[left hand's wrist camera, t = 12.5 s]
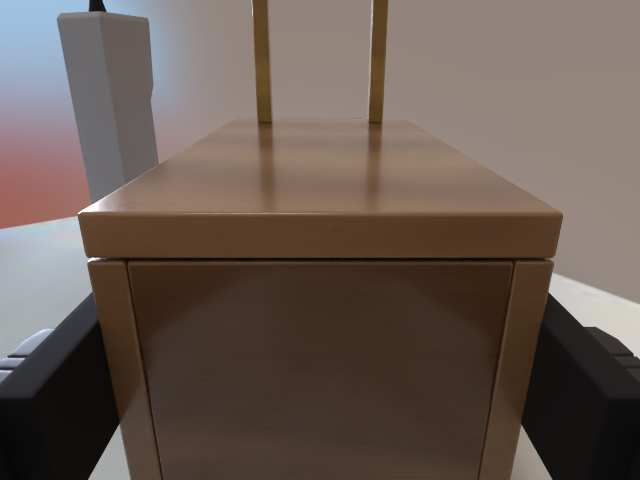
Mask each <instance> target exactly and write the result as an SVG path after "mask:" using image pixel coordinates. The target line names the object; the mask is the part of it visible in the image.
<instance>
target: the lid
mask: <svg viewBox="0 0 640 480" xmlns="http://www.w3.org/2000/svg"><path fill="white" fill-rule="evenodd" d="M252 12H253V34H254V55H255V75H256V96H257V118H236V119H234V120H232V121H231V122H229V123H227V124H226V125H224V126H223V127H221V128H219V129H217V130H216V131H214V132H212V133H211V134H209V135H207V136H206V137H204V138H203V139H201V140H199V141H198V142H196V143H194V144H192V145H191V146H189V147H188V148H186V149H184V150H183V151H181V152H179V153H178V154H176V155H174V156H173V157H171V158H169V159H168V160H166V161H164V162H163V163H161V164H159V165H158V166H156V167H154V168H153V169H151V170H149V171H148V172H146V173H144V174H143V175H141V176H139V177H138V178H136V179H134V180H133V181H131V182H129V183H128V184H126V185H124V186H123V187H121V188H119V189H118V190H116V191H114V192H113V193H111V194H109V195H108V196H106V197H104V198H103V199H101V200H99V201H98V202H96V203H94V204H93V205H91V206H89V207H88V208H86V209H84V210H83V211H81V212H79V214H78V219H79V224H80V229H81V234H82V239H83V244H84V249H85V254H86V256H87V257H88V258H553V257H554V256H555V253H556V248H557V244H558V239H559V234H560V229H561V224H562V219H563V214H562V213H561V212H560V211H558V210H556V209H555V208H553V207H551V206H550V205H548V204H546V203H545V202H543V201H541V200H540V199H538V198H536V197H535V196H533V195H531V194H530V193H528V192H526V191H525V190H523V189H521V188H520V187H518V186H516V185H515V184H513V183H511V182H510V181H508V180H506V179H505V178H503V177H501V176H500V175H498V174H496V173H495V172H493V171H491V170H489V169H488V168H486V167H485V166H483V165H481V164H479V163H478V162H476V161H474V160H473V159H471V158H469V157H468V156H466V155H464V154H463V153H461V152H459V151H458V150H456V149H454V148H453V147H451V146H449V145H448V144H446V143H444V142H443V141H441V140H439V139H438V138H436V137H434V136H433V135H431V134H429V133H428V132H426V131H424V130H423V129H421V128H419V127H418V126H416V125H414V124H413V123H411V122H409V121H408V120H406V119H404V118H383V98H384V78H385V57H386V36H387V16H388V0H372V3H371V30H370V58H369V85H368V113H367V118H273V110H272V83H271V55H270V27H269V0H252Z"/></svg>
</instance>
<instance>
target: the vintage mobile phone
mask: <svg viewBox="0 0 640 480" xmlns="http://www.w3.org/2000/svg"><path fill="white" fill-rule="evenodd" d="M89 1H90V2H89V12H77V13H61V14H60V15H59V16H58V18H57V23H58V28H59V33H60V39H61V44H62V49H63V54H64V60H65V65H66V70H67V76H68V81H69V86H70V92H71V97H72V102H73V108H74V113H75V118H76V123H77V128H78V134H79V139H80V144H81V150H82V155H83V160H84V166H85V171H86V176H87V182H88V187H89V192H90V198H91V203H92V205H93V204H94V203H96V202H98V201H99V200H101V199H103V198H104V197H106V196H108V195H109V194H111V193H113V192H114V191H116V190H118V189H119V188H121V187H123V186H124V185H126V184H128V183H129V182H131V181H133V180H134V179H136V178H138V177H139V176H141V175H143V174H144V173H146V172H148V171H149V170H151V169H153V168H154V167H156V166H158V165H159V162H158V154H157V147H156V139H155V131H154V123H153V116H152V108H151V95H152V89H153V75H152V61H151V46H150V31H149V21H148V18H144V17H136V16H130V15H123V14H115V13H108V12H106V9H105V7H104V4H103V1H102V0H89Z"/></svg>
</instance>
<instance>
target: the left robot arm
mask: <svg viewBox="0 0 640 480" xmlns="http://www.w3.org/2000/svg"><path fill="white" fill-rule="evenodd" d="M521 424H522V426H523V428H524V430H525V431H526V433H527V435H528V437H529V439H530V440H531V442H532V444H533V446H534V447H535V449H536V451H537V453H538V455H539V456H540V458H541V460H542V462H543V464H544V465H545V467H546V469H547V471H548V472H549V474H550V476H551V478H552V480H640V359H639V358H638V357H634V355H633V353H632V352H631V351H630V350H629V349H628V348H627V347H626V346H624V345H623V344H622V343H621V342H620V341H619V340H618V339H616V338H615V337H613V336H611V335H609V334H607V333H606V332H604V331H602V330H600V329H598V328H597V327H583V326H582V325H581V324H580V323H579V322H578V321H577V320H576V319H575V318H574V317H573V316H572V315H571V314H570V313H569V312H568V311H567V310H566V309H565V308H564V307H563V306H562V305H561V304H560V303H559V302H558V301H557V300H556V299H555V298H554V297H553V296H552V295H551V294H550V293H549V292H548V296H547V301H546V305H545V310H544V315H543V320H542V324H541V329H540V334H539V339H538V344H537V349H536V353H535V358H534V363H533V368H532V373H531V378H530V383H529V388H528V393H527V398H526V403H525V408H524V413H523V418H522V423H521ZM118 425H119V419H118V414H117V409H116V404H115V399H114V394H113V389H112V384H111V379H110V374H109V369H108V364H107V359H106V355H105V350H104V345H103V340H102V335H101V330H100V325H99V320H98V315H97V310H96V305H95V300H94V295H93V292H92V293H91V294H90V295H89V296H88V297H87V298H86V299H85V300H84V301H83V302H82V303H81V304H80V305H79V306H78V307H77V308H76V309H75V310H74V311H73V312H72V313H71V314H70V315H69V316H67V317H66V318H65V319H64V320H63V321H62V322H61V323H60V324H59V325H58V326H57V327H56V328H45V329H43V330H42V331H40V332H38V333H36V334H34V335H33V336H31V337H29V338H27V339H26V340H24V341H23V342H21V343H20V344H19V345H18V346H17V347H16V348H15V349H14V350H13V351H12V352H11V353H10V354H8V357H7V358H4V359H3V360H2V361H1V362H0V480H88V479H89V477H90V475H91V473H92V471H93V470H94V468H95V466H96V464H97V463H98V461H99V459H100V457H101V455H102V454H103V452H104V450H105V448H106V447H107V445H108V443H109V441H110V439H111V438H112V436H113V434H114V432H115V431H116V429H117V427H118Z"/></svg>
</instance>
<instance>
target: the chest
mask: <svg viewBox="0 0 640 480" xmlns="http://www.w3.org/2000/svg"><path fill="white" fill-rule="evenodd" d="M553 266H554V262H553V261H552V260H551V259H550V258H92V259H91V260H89V261H88V270H89V275H90V280H91V285H92V290H93V295H94V300H95V305H96V310H97V315H98V320H99V325H100V330H101V335H102V340H103V345H104V350H105V355H106V359H107V364H108V369H109V374H110V379H111V384H112V389H113V394H114V399H115V404H116V409H117V414H118V419H119V424H120V429H121V434H122V439H123V444H124V449H125V454H126V459H127V464H128V469H129V474H130V479H131V480H510V478H511V473H512V468H513V463H514V458H515V453H516V448H517V443H518V438H519V434H520V429H521V423H522V418H523V413H524V408H525V403H526V398H527V393H528V388H529V383H530V378H531V373H532V368H533V363H534V358H535V353H536V349H537V344H538V339H539V334H540V329H541V324H542V320H543V315H544V310H545V305H546V301H547V296H548V291H549V286H550V281H551V276H552V271H553Z"/></svg>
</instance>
